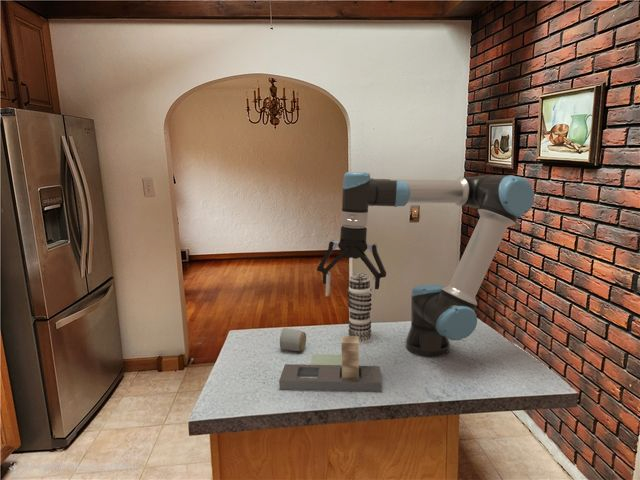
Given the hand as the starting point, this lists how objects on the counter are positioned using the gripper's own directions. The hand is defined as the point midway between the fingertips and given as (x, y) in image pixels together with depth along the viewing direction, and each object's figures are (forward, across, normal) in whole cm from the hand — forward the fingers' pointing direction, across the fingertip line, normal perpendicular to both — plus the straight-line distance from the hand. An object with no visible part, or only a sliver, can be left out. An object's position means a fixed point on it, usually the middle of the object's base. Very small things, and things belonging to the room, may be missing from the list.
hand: (350, 297), depth 123 cm
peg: (+27, +2, -1) cm, 27 cm away
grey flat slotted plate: (+27, -4, -2) cm, 27 cm away
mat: (+27, -8, +10) cm, 30 cm away
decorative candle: (+26, +1, +31) cm, 40 cm away
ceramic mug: (+28, -22, +20) cm, 40 cm away
